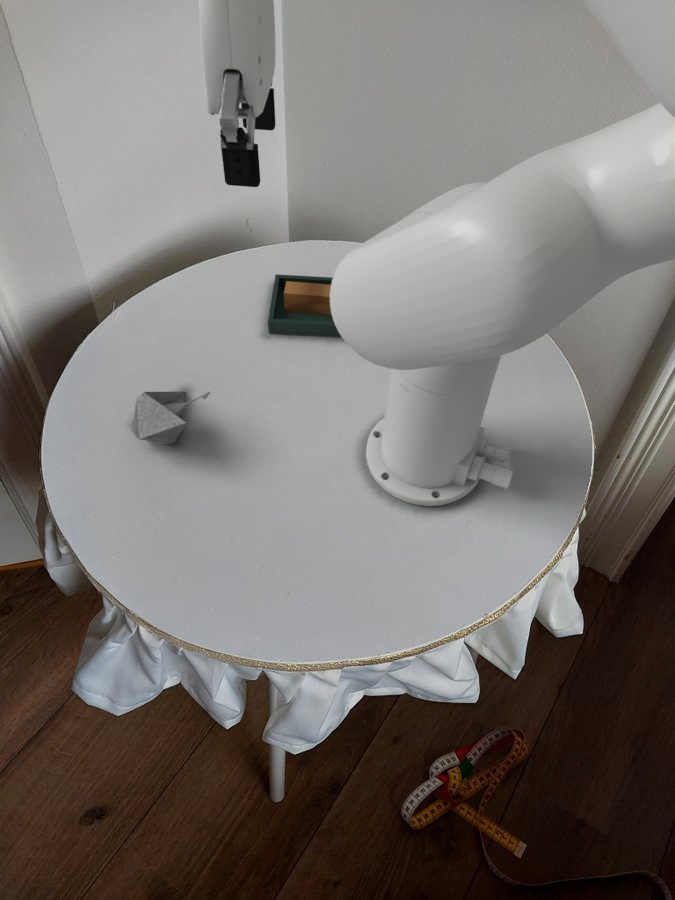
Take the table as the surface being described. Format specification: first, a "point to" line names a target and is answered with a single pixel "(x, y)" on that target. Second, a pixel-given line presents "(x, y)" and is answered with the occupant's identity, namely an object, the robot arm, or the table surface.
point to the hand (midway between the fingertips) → (251, 155)
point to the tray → (297, 321)
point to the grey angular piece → (160, 416)
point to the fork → (307, 298)
